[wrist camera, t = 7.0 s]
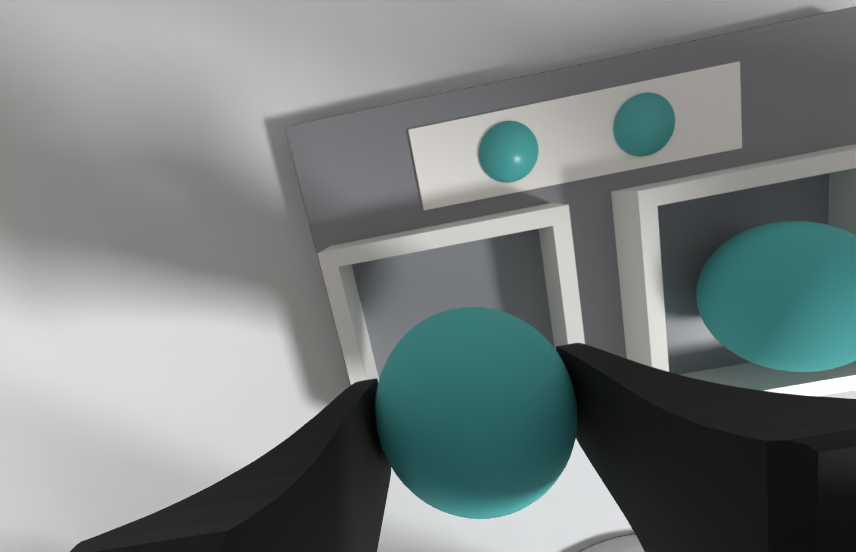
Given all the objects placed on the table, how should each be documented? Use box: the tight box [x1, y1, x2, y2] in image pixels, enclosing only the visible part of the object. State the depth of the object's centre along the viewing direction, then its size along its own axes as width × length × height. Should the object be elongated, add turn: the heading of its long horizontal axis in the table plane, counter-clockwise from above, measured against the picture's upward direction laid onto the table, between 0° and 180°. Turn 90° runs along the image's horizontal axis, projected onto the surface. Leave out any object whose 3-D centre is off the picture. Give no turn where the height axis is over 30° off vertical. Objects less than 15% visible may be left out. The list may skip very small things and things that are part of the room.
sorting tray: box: [285, 7, 856, 396], centre depth 15 cm, size 21×14×3 cm, turn 101°
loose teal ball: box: [375, 307, 577, 519], centre depth 10 cm, size 5×5×5 cm
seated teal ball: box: [696, 221, 856, 372], centre depth 13 cm, size 5×5×5 cm
